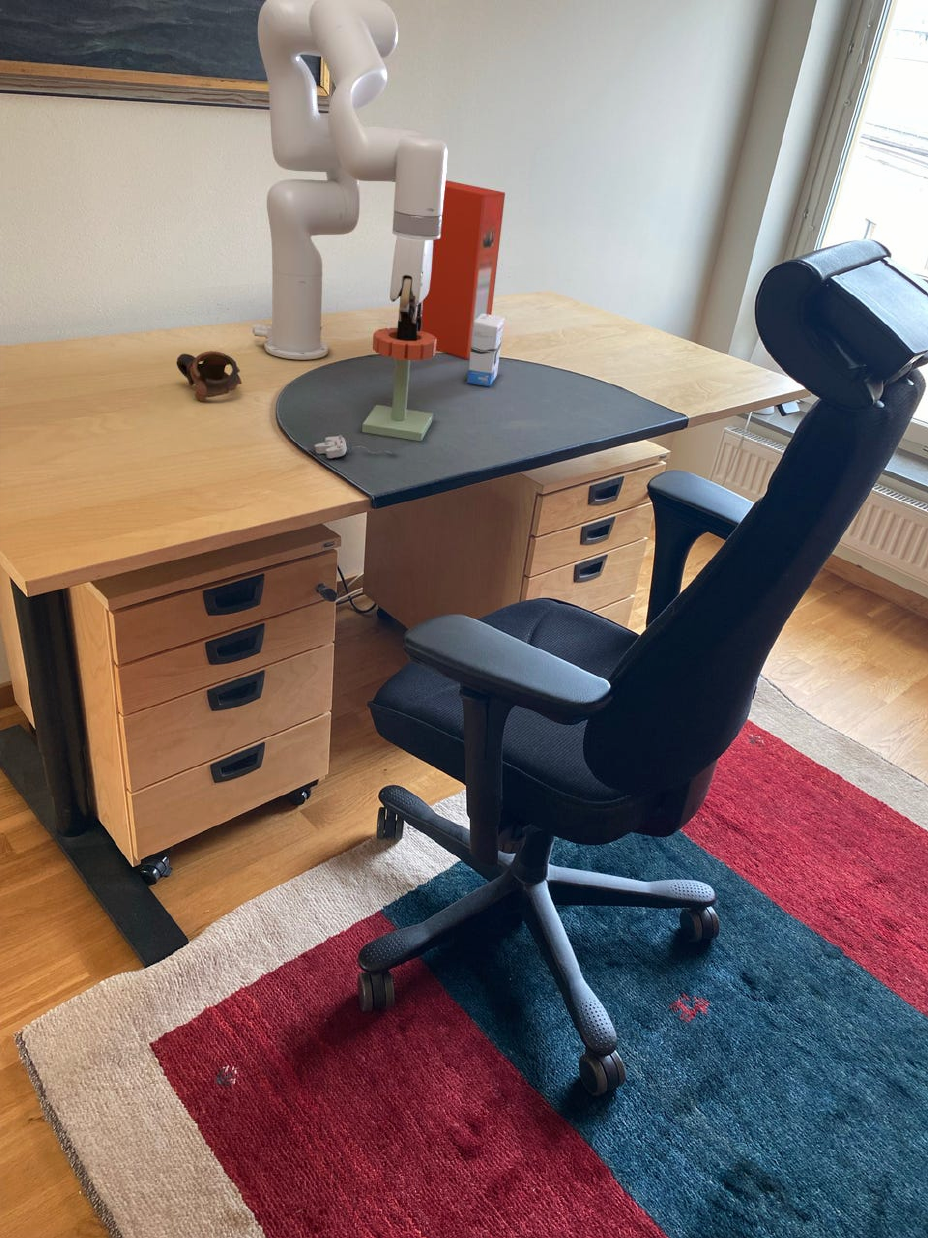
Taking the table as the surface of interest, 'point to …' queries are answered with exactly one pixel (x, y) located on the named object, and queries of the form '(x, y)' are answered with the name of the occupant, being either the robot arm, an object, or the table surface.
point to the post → (398, 411)
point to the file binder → (463, 266)
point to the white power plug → (333, 447)
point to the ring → (404, 345)
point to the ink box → (485, 349)
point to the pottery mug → (209, 373)
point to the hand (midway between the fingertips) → (408, 342)
